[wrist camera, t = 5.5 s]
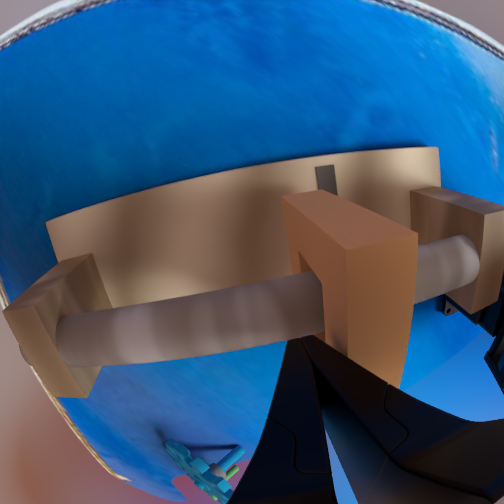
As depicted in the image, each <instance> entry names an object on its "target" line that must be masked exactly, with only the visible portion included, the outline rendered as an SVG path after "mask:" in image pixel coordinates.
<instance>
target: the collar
mask: <svg viewBox="0 0 504 504" xmlns="http://www.w3.org/2000/svg"><path fill="white" fill-rule="evenodd" d="M281 198H282V205H283V211H284V217H285V224H286V231H287V237H288V244H289V251H290V258H291V265H292V273H293V275H294V274H298V273H303V272H307V271H312V270H313V272H314V273H315V275H316V276H317V277H318V279H319V280H320V282H321V283H322V292H323V306H324V321H325V331H324V332H320V333H316V334H312V335H315V336H316V337H318V338H319V339H321V340H322V341H324V342H325V343H327V344H328V345H330V346H331V347H333V348H334V349H336V350H337V351H339V352H341V353H342V354H344V355H345V356H347V357H348V358H350V359H351V360H353V361H354V362H356V363H358V364H359V365H361V366H362V367H364V368H365V369H367V370H369V371H370V372H372V373H373V374H375V375H377V376H378V377H380V378H381V379H383V380H385V381H386V382H388V384H391V385H393V386H394V387H396V388H398V389H399V386H400V382H401V378H402V373H403V368H404V363H405V358H406V353H407V348H408V342H409V336H410V329H411V322H412V315H413V306H414V297H415V287H416V274H417V256H418V233H416V232H414V231H412V230H410V229H408V228H406V227H404V226H402V225H400V224H398V223H396V222H394V221H392V220H390V219H388V218H386V217H384V216H381V215H379V214H377V213H375V212H373V211H371V210H368V209H366V208H364V207H362V206H360V205H357V204H355V203H353V202H350V201H348V200H346V199H344V198H341V197H339V196H336V195H334V194H332V193H329V192H327V191H324V190H322V189H321V190H315V191H309V192H303V193H297V194H291V195H286V196H281Z"/></svg>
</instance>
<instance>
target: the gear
mask: <svg viewBox="0 0 504 504" xmlns="http://www.w3.org/2000/svg"><path fill="white" fill-rule="evenodd" d="M165 445H166V447H167V449H166V450H167V452H168V453H169V454H170V455H171V456H172V457H173V458H174V461H175V462H176V464H177V465H178V466H179V467H181V468H182V469H183V470H185V471H186V472H187V475H188V476H189V477H190V478H191V479H192V480H193V481H194V484H195V485H196V486H197V487H198V488H200V489H201V490H202V489H203V490H204V491H205V492H206V493H208V495H209V496H210V497H211V498H212V499H214V500H217V499H219V502H220V503H221V504H226V503H227V501H228V500H229V499H230V497H231V495H232V494H233V492H234V491H232V490H231V489H230V488H231V485H230V484H229V483H228V482H227V480H228V479H229V478H230V477H231V476H232V475H234V474H235V473H236V472H237V471H238V470H239V468H238V467H237V466H236V465H234V466H233V467H232V468H231V469H229V470H228V471H227V472H226V473H225V470H226V469H227V468H229V467H230V466H231V465H232V464H233V463H234V462H235V461H236V460H237V459H238V458H240V457H241V456H242V455H243V454H244V453H245V452H246V451H245V449H244V448H243V447H241V446H239V445H238V446H236V447H235V448H234V449H233V450H232V451H231V452H230V453H229V454H227V455H226V456H225V457H224V458H223V459H222V460H221V461H219V462H218V463H217V464H215V463H212V464H211V465H210V466H208V465H207V464H206V463H205V462H204V461H203V460H202V459H201V458H199V457H197V458H195V459H193V458H192V457H191V456H190V455H189V454H190V451H189V450H188V449H187V448H186V447H185V446H184V445H182V444H181V443H180V442H179V443H178V444H177V443H176V442H175V441H174V440H172V439H170V440H169V441H168V442H166V443H165Z"/></svg>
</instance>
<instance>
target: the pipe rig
mask: <svg viewBox="0 0 504 504" xmlns="http://www.w3.org/2000/svg"><path fill="white" fill-rule="evenodd" d="M321 189H322V190H324V191H327V192H329V193H332V194H334V195H336V196H339V197H341V198H344V199H346V200H348V201H350V202H353V203H355V204H357V205H360V206H362V207H364V208H366V209H368V210H371V211H373V212H375V213H377V214H379V215H381V216H384V217H386V218H388V219H390V220H392V221H394V222H396V223H398V224H400V225H402V226H404V227H406V228H408V229H410V230H412V231H414V232H416V233H418V256H417V274H416V287H415V297H414V304H417V303H420V302H422V301H425V300H428V299H431V298H433V297H436V296H439V295H441V294H446V295H447V296H448V297H450V298H451V299H452V300H453V301H455V302H456V303H457V304H458V305H460V306H461V307H462V308H463V309H465V310H466V311H467V312H468V313H469V314H473V313H475V312H477V311H479V310H481V309H483V308H485V307H486V306H488V305H490V304H492V303H494V302H496V301H498V296H499V292H500V287H501V283H502V277H503V272H504V206H502V205H499V204H496V203H493V202H490V201H486V200H483V199H480V198H477V197H473V196H470V195H467V194H463V193H460V192H456V191H452V190H449V189H445V188H441V178H440V162H439V150H438V147H407V148H390V149H377V150H365V151H355V152H345V153H336V154H328V155H320V156H312V157H305V158H298V159H291V160H284V161H278V162H272V163H266V164H260V165H254V166H249V167H244V168H238V169H233V170H228V171H223V172H218V173H213V174H209V175H204V176H200V177H195V178H191V179H187V180H182V181H178V182H174V183H170V184H166V185H162V186H158V187H154V188H150V189H147V190H143V191H139V192H135V193H132V194H128V195H125V196H121V197H118V198H115V199H111V200H108V201H105V202H101V203H98V204H95V205H92V206H89V207H86V208H82V209H79V210H76V211H73V212H70V213H68V214H65V215H62V216H59V217H56V218H53V219H51V220H49V221H47V222H46V226H47V229H48V233H49V236H50V239H51V242H52V245H53V248H54V251H55V254H56V257H57V260H58V264H57V265H55V266H54V267H53V268H52V269H50V270H49V271H48V272H47V273H46V274H44V275H43V276H42V277H41V278H39V279H38V280H37V281H36V282H35V283H34V284H32V285H31V286H30V287H29V288H28V289H27V290H25V291H24V292H23V293H22V294H21V295H20V296H19V297H17V298H16V299H15V300H14V301H13V302H12V303H11V304H10V305H9V306H8V307H6V308H5V309H4V310H3V314H4V316H5V318H6V320H7V322H8V324H9V326H10V328H11V330H12V332H13V334H14V336H15V338H16V339H17V341H18V343H19V348H20V351H21V354H22V356H23V358H24V359H25V361H26V362H27V363H28V364H29V365H31V366H33V368H34V370H35V371H36V373H37V374H38V376H39V377H40V379H41V380H42V382H43V383H44V384H45V386H46V387H47V389H48V390H49V392H50V393H51V394H52V396H55V397H71V398H88V396H89V394H90V392H91V389H92V387H93V385H94V383H95V380H96V378H97V376H98V374H99V372H100V370H101V368H102V366H114V365H128V364H139V363H150V362H159V361H168V360H176V359H184V358H191V357H198V356H205V355H212V354H218V353H224V352H230V351H235V350H241V349H246V348H252V347H257V346H262V345H267V344H272V343H277V342H281V341H286V340H290V339H294V338H299V337H303V336H307V335H312V334H316V333H320V332H324V331H325V321H324V306H323V292H322V283H321V282H320V280H319V279H318V277H317V276H316V275H315V273H314V272H313V270H312V271H307V272H303V273H298V274H294V275H293V273H292V265H291V258H290V251H289V244H288V237H287V231H286V224H285V217H284V211H283V205H282V198H281V196H286V195H291V194H297V193H303V192H309V191H315V190H321Z"/></svg>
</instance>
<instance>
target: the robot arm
mask: <svg viewBox="0 0 504 504" xmlns="http://www.w3.org/2000/svg"><path fill="white" fill-rule="evenodd" d="M457 311H460V312H461V313H462V314H463V315H464V316H466V317H467V318H468V319H469V320H470V321H472V322H473V323H474V324H475V325H477V324H478V325H480V326H481V327H482V328H483V329H484V330H485V331H487V332H488V333H489V334H490V335H491V336H492V337H494V336H496V337H495V339H494V341H493V343H492V346H491V347H490V349H489V351H487V353H486V354H485V356H484V360H485V361H486V363H487V364H488V366H489V368H490V370H491V372H492V373H493V375H494V377H495V379H496V381H497V383H498V385H499V386H500V388H501V390H502V392H503V394H504V272H503V277H502V283H501V287H500V292H499V296H498V301H496V302H494V303H492V304H490V305H488V306H486V307H485V308H483V309H481V310H479V311H477V312H475V313H473V314H469V313H468V312H467V311H466V310H465V309H463V308H462V307H461V306H460V305H458V304H457V303H456V302H455V301H453V300H452V299H451V298H450V297H448V296H447V295H446V294H444V300H443V306H442V313H443V314H444V315H445V316H448V315H451V314H453V313H455V312H457ZM267 417H268V418H267V419H266V423H265V426H264V429H263V432H262V435H261V438H260V441H259V443H258V446H257V448H256V450H255V452H254V454H253V457H252V459H251V461H250V463H249V465H248V467H247V468H246V470H245V472H244V474H243V476H242V478H241V480H240V481H239V483H238V485H237V487H236V489H235V490H234V492H233V494H232V495H231V497H230V499H229V500H228V501H227V503H226V504H338V502H337V499H336V495H335V490H334V484H333V478H332V472H331V465H330V459H329V452H328V446H327V441H326V434H325V429H326V431H327V433H328V436H329V438H330V440H331V442H332V445H333V447H334V449H335V452H336V454H337V456H338V459H339V461H340V463H341V465H342V468H343V470H344V472H345V474H346V477H347V479H348V481H349V484H350V486H351V488H352V490H353V493H354V495H355V497H356V499H357V502H358V504H504V419H498V420H492V421H486V422H474V421H469V420H465V419H462V418H459V417H457V416H455V415H452V414H450V413H447V412H445V411H442V410H440V409H437V408H435V407H433V406H431V405H428V404H426V403H424V402H422V401H420V400H418V399H416V398H414V397H412V396H410V395H408V394H406V393H405V392H403V391H401V390H399V389H398V388H396V387H394V386H393V385H391V384H388V382H386V381H385V380H383V379H381V378H380V377H378V376H377V375H375V374H373V373H372V372H370V371H369V370H367V369H365V368H364V367H362V366H361V365H359V364H358V363H356V362H354V361H353V360H351V359H350V358H348V357H347V356H345V355H344V354H342V353H341V352H339V351H337V350H336V349H334V348H333V347H331V346H330V345H328V344H327V343H325V342H324V341H322V340H321V339H319V338H318V337H316V336H315V335H307V336H303V337H301V338H294V339H290V340H288V341H287V345H286V349H285V353H284V357H283V361H282V365H281V368H280V372H279V376H278V380H277V384H276V387H275V391H274V395H273V398H272V402H271V406H270V409H269V413H268V416H267ZM324 427H325V428H324Z"/></svg>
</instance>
